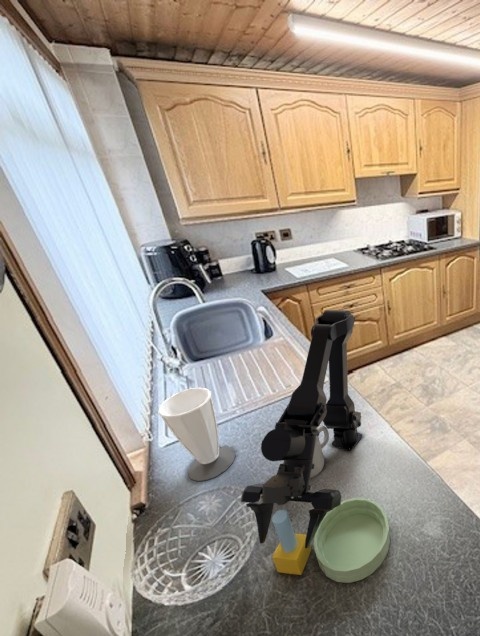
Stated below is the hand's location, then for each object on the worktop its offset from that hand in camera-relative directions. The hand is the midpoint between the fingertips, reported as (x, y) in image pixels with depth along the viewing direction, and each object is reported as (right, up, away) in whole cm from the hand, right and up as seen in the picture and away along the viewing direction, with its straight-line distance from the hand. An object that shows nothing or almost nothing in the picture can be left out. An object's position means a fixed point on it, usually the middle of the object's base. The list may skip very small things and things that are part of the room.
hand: (284, 545), depth 67 cm
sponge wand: (+1, -6, +4) cm, 7 cm away
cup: (-31, +4, +28) cm, 42 cm away
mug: (-3, +5, +27) cm, 28 cm away
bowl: (+12, -4, +7) cm, 15 cm away
